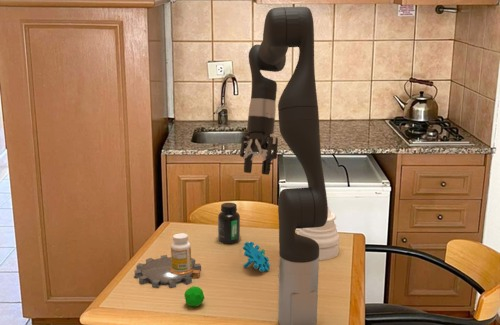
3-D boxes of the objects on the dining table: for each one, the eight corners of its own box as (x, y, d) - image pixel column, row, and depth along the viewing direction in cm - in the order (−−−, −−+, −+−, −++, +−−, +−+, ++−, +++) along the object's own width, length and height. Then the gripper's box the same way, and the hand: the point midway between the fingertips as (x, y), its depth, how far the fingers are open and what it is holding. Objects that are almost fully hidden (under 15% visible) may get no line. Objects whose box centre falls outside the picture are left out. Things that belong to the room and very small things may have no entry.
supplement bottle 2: (239, 244, 198) (239, 208, 194) (217, 244, 197) (217, 208, 194) (239, 236, 204) (239, 201, 201) (218, 236, 204) (218, 201, 201)
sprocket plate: (207, 283, 171) (206, 277, 171) (138, 291, 167) (137, 285, 166) (194, 256, 188) (194, 251, 188) (132, 263, 184) (131, 257, 183)
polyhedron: (208, 304, 160) (208, 287, 158) (194, 311, 156) (193, 294, 155) (194, 298, 163) (194, 281, 162) (180, 305, 159) (180, 287, 158)
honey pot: (338, 261, 186) (340, 203, 181) (294, 258, 188) (295, 200, 183) (339, 244, 198) (341, 189, 193) (298, 242, 200) (299, 187, 195)
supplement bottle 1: (181, 263, 180) (179, 230, 178) (195, 267, 177) (194, 234, 174) (167, 269, 176) (166, 236, 173) (182, 274, 173) (180, 240, 170)
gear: (262, 273, 174) (241, 244, 175) (248, 285, 176) (226, 256, 178) (277, 263, 184) (256, 236, 186) (263, 275, 186) (243, 247, 188)
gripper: (236, 115, 182) (231, 171, 182) (266, 113, 170) (260, 173, 170) (257, 118, 186) (252, 173, 186) (287, 117, 175) (282, 176, 174)
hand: (256, 173), depth 178 cm, fingers open, 8 cm apart
